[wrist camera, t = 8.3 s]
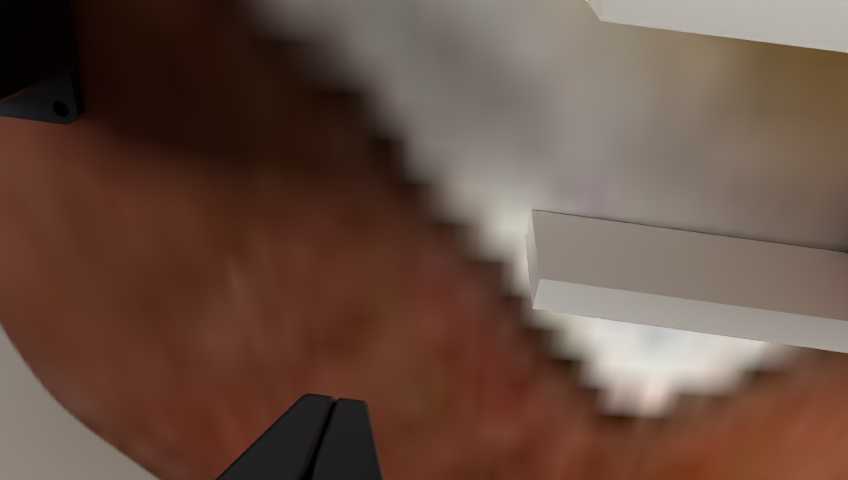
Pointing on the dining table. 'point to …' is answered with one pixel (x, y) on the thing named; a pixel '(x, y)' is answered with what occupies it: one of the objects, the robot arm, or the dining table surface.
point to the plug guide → (691, 251)
